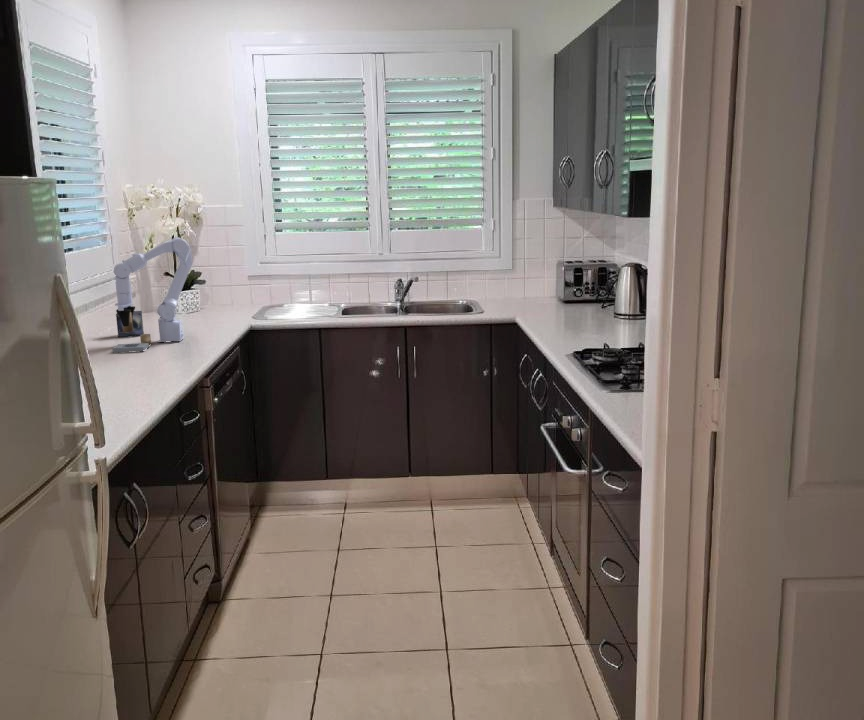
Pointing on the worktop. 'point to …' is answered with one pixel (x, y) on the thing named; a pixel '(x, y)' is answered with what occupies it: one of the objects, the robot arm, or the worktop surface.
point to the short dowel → (145, 338)
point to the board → (130, 347)
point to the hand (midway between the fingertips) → (127, 325)
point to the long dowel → (130, 327)
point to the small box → (136, 323)
